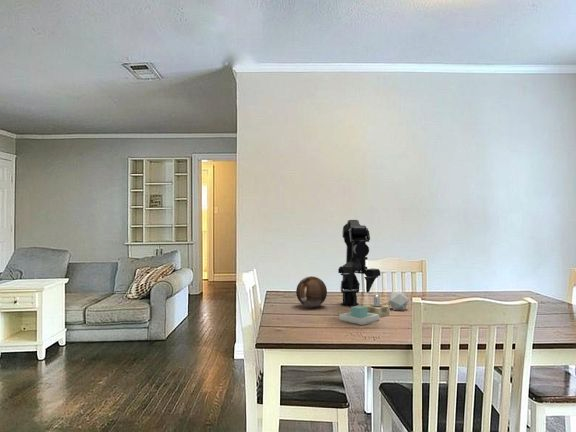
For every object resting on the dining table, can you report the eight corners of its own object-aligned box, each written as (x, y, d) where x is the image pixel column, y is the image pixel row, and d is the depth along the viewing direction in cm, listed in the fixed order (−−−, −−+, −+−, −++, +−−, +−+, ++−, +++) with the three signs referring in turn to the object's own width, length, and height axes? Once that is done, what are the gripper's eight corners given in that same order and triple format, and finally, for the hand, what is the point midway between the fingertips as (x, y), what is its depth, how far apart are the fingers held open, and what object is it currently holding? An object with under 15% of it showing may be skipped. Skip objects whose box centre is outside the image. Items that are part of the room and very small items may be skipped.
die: (404, 313, 217) (413, 295, 220) (386, 303, 218) (396, 285, 222) (399, 316, 225) (409, 298, 228) (383, 306, 226) (392, 289, 230)
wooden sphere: (314, 302, 241) (314, 273, 240) (333, 307, 228) (333, 277, 228) (290, 306, 232) (290, 276, 232) (308, 311, 220) (308, 279, 220)
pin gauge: (376, 314, 213) (376, 294, 213) (380, 315, 212) (380, 295, 211) (372, 315, 212) (372, 295, 212) (377, 316, 210) (377, 295, 210)
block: (350, 319, 201) (350, 307, 201) (358, 317, 205) (358, 305, 205) (359, 321, 198) (359, 309, 198) (367, 319, 201) (367, 307, 201)
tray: (339, 320, 202) (339, 314, 202) (356, 316, 210) (356, 310, 210) (361, 325, 193) (361, 319, 193) (379, 320, 201) (379, 314, 201)
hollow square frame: (364, 315, 212) (364, 306, 212) (374, 312, 217) (374, 303, 217) (378, 317, 206) (378, 308, 206) (389, 315, 211) (389, 306, 211)
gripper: (329, 254, 202) (330, 291, 202) (364, 257, 189) (364, 296, 189) (346, 253, 210) (346, 288, 210) (381, 255, 196) (381, 293, 197)
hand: (358, 291), depth 201 cm, fingers open, 9 cm apart
